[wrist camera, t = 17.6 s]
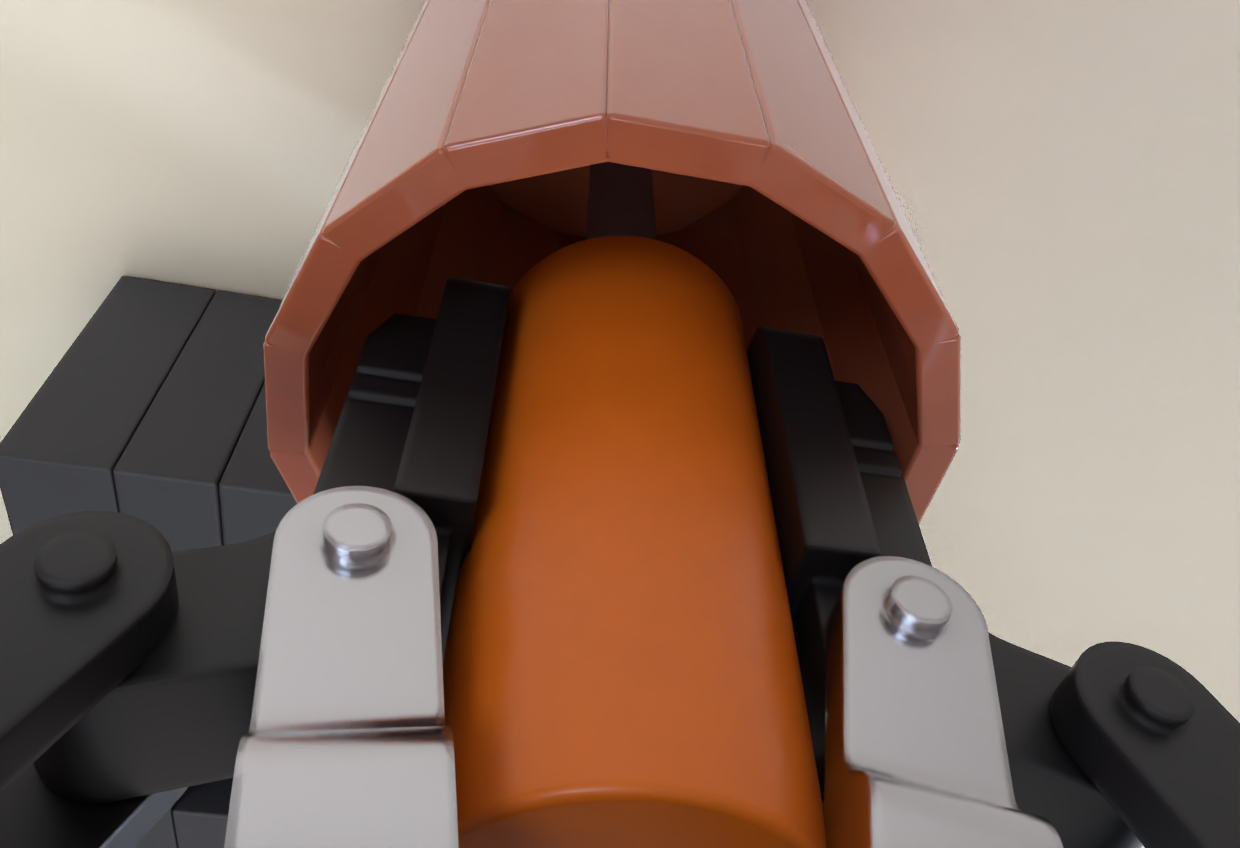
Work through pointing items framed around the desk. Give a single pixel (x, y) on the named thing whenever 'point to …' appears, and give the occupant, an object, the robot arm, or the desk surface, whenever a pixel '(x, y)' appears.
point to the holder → (157, 448)
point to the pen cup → (559, 184)
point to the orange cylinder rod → (626, 568)
